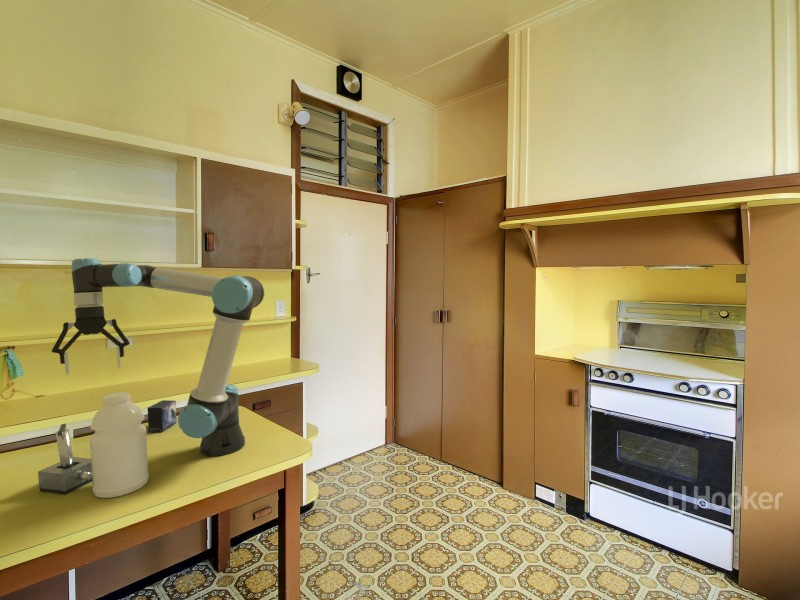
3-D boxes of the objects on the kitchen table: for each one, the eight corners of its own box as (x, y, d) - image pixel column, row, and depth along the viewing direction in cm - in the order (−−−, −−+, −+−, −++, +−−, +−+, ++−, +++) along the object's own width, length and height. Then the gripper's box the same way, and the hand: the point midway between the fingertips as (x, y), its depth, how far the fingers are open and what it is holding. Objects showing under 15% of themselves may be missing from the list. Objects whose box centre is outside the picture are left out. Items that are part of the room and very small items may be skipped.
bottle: (86, 503, 112) (79, 404, 111) (100, 481, 125) (94, 392, 123) (145, 492, 118) (139, 397, 116) (152, 471, 130) (148, 386, 129)
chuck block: (104, 478, 126) (103, 459, 126) (72, 495, 117) (70, 475, 116) (73, 475, 129) (72, 456, 129) (39, 491, 119) (37, 471, 119)
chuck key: (74, 484, 121) (66, 431, 119) (61, 487, 119) (53, 433, 117) (77, 473, 127) (69, 422, 124) (65, 476, 125) (57, 425, 123)
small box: (163, 432, 165) (161, 407, 164) (147, 432, 165) (146, 407, 164) (177, 423, 175) (176, 399, 175) (163, 423, 175) (161, 400, 175)
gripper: (134, 303, 142) (139, 362, 143) (40, 308, 128) (46, 374, 129) (135, 303, 136) (139, 366, 137) (36, 309, 122) (42, 378, 123)
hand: (94, 370), depth 133 cm, fingers open, 13 cm apart
